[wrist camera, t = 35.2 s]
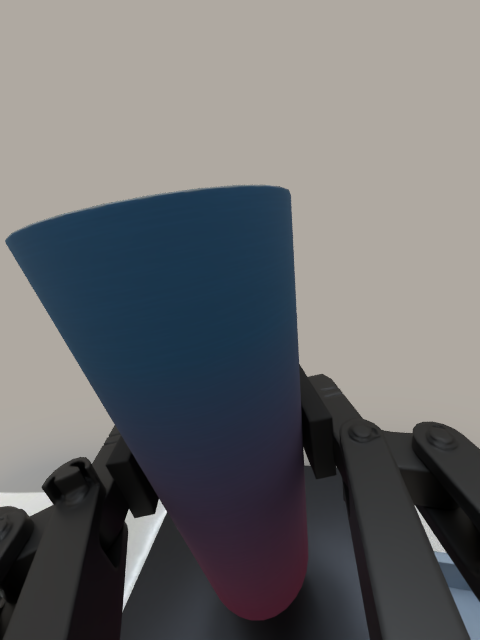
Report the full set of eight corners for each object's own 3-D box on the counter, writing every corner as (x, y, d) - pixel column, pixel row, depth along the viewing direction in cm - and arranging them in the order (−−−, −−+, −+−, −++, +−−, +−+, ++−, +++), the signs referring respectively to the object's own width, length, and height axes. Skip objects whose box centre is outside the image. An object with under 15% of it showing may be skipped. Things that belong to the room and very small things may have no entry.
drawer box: (383, 556, 20) (385, 470, 17) (527, 1092, 8) (668, 1228, 4) (218, 529, 25) (191, 457, 21) (138, 845, 12) (36, 803, 8)
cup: (304, 731, 7) (128, 153, 2) (159, 584, 11) (-31, 258, 6) (341, 504, 12) (320, 193, 7) (235, 459, 16) (173, 233, 11)
